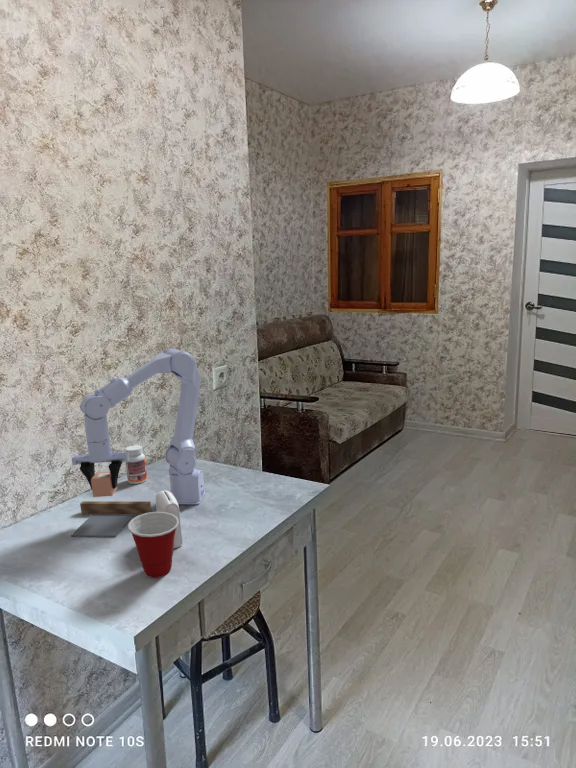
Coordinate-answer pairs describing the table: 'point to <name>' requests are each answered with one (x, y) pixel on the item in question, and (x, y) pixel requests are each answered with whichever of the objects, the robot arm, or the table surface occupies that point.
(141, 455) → the pill bottle
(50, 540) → the table surface
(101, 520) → the slate mat
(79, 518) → the table surface
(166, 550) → the plastic cup
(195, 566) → the table surface
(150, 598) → the table surface
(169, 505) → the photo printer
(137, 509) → the walnut board
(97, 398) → the robot arm
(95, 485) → the marked cube
